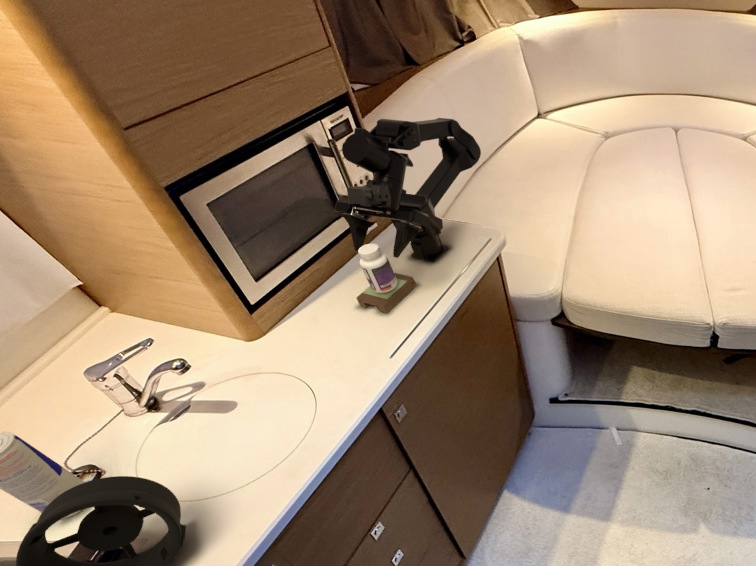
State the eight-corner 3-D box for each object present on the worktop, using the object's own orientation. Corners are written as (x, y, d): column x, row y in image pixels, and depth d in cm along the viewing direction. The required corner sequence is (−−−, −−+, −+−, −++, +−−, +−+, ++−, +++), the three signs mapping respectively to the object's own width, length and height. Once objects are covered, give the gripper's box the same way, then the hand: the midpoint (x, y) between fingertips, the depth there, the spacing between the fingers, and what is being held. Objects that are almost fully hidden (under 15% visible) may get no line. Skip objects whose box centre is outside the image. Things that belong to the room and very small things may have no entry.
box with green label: (391, 279, 117) (387, 270, 116) (416, 285, 116) (412, 276, 114) (360, 306, 111) (355, 297, 109) (387, 313, 109) (382, 304, 107)
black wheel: (78, 447, 67) (59, 488, 60) (208, 475, 77) (205, 513, 69) (13, 542, 66) (-15, 595, 59) (152, 559, 76) (144, 606, 69)
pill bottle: (401, 278, 113) (386, 241, 107) (393, 294, 110) (376, 256, 103) (377, 278, 113) (360, 241, 107) (368, 294, 110) (349, 256, 103)
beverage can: (106, 488, 80) (24, 431, 69) (74, 522, 76) (-18, 467, 65) (73, 485, 80) (-13, 428, 70) (40, 519, 76) (-57, 464, 66)
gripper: (319, 161, 101) (306, 240, 101) (403, 171, 97) (389, 252, 98) (360, 180, 112) (349, 251, 112) (436, 190, 108) (424, 263, 108)
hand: (376, 254), depth 107 cm, fingers open, 9 cm apart
